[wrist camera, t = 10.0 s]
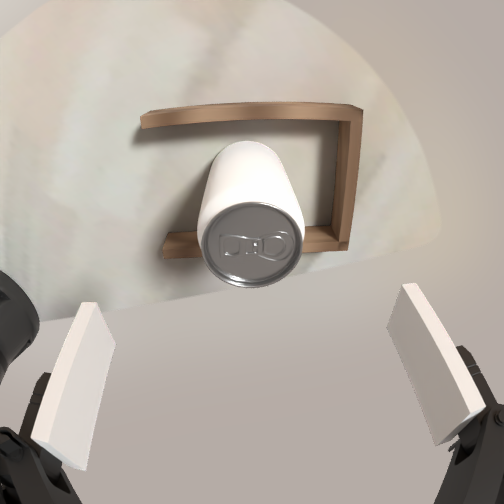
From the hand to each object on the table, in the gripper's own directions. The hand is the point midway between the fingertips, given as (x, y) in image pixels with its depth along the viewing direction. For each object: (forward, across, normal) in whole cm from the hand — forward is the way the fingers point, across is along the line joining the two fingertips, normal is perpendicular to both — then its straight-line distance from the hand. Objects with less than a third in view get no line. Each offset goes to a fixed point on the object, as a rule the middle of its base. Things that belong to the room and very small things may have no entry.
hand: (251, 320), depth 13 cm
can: (+18, +1, 0) cm, 18 cm away
